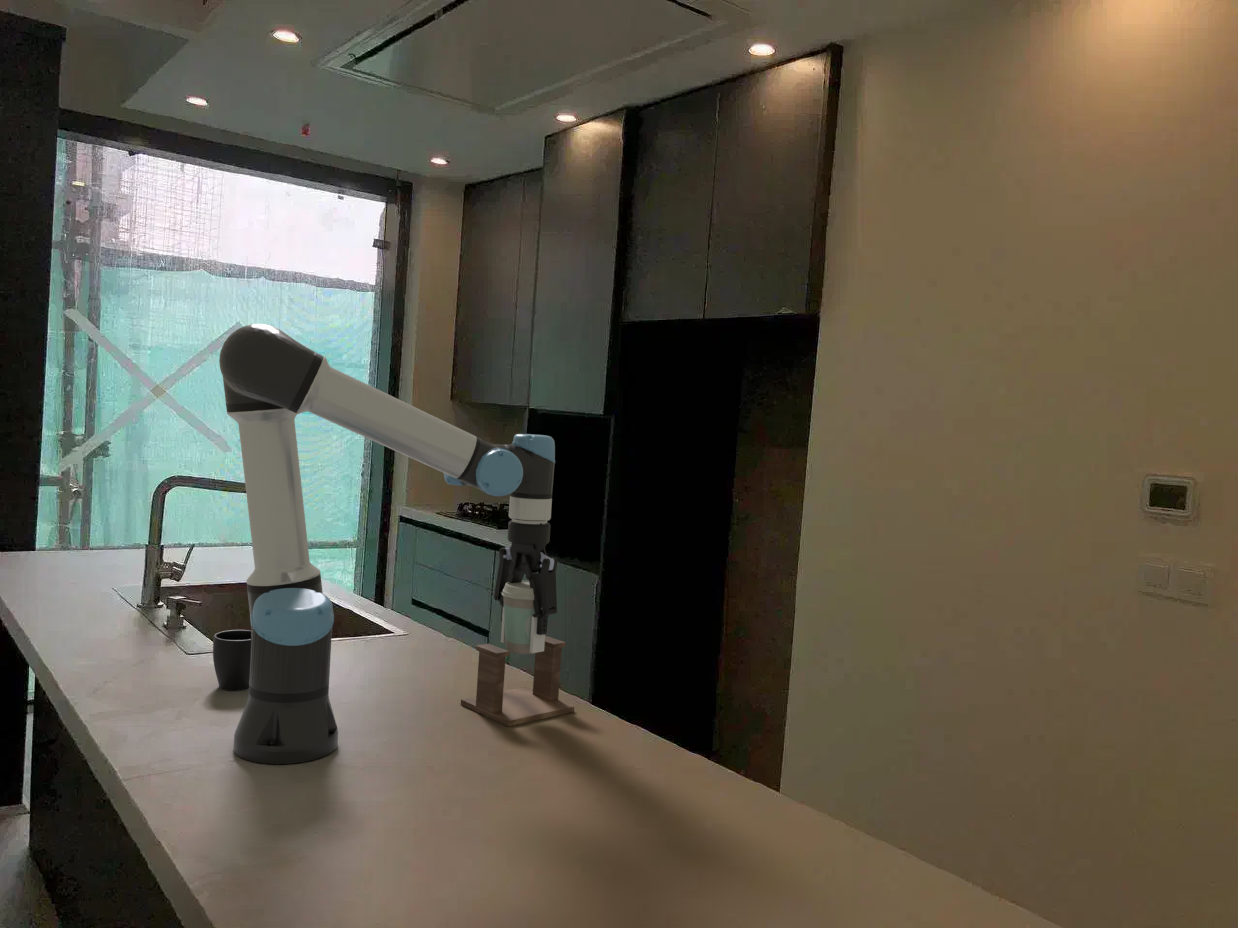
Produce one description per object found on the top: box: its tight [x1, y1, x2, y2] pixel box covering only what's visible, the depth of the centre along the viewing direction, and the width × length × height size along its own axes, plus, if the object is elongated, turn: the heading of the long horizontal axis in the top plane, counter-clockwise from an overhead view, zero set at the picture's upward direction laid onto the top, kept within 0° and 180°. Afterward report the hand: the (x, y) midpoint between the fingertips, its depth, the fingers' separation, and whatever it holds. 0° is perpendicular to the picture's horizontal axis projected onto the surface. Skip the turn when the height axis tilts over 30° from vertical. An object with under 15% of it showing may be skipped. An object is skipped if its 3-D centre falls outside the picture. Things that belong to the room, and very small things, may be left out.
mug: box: [212, 629, 251, 692], centre depth 179 cm, size 8×12×10 cm
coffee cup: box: [501, 580, 542, 655], centre depth 176 cm, size 8×8×12 cm
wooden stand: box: [460, 635, 575, 727], centre depth 176 cm, size 16×14×12 cm
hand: (522, 646), depth 176 cm, fingers closed on coffee cup, 8 cm apart
